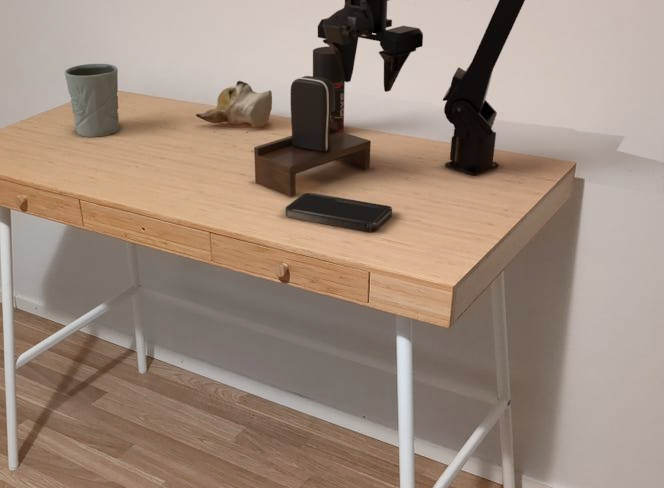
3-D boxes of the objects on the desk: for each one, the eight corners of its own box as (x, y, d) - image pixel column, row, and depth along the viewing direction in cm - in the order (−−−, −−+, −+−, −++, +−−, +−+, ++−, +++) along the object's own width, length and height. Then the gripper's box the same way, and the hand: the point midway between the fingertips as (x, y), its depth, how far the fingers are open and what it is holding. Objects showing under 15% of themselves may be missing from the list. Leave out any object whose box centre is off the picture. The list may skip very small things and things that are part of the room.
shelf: (369, 169, 153) (371, 133, 150) (290, 197, 144) (289, 160, 141) (333, 156, 159) (333, 122, 156) (255, 183, 151) (253, 147, 147)
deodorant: (342, 135, 169) (343, 54, 161) (310, 135, 170) (310, 54, 162) (345, 126, 174) (346, 46, 166) (314, 125, 175) (314, 46, 167)
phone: (374, 225, 130) (282, 209, 137) (373, 232, 131) (283, 215, 138) (394, 206, 136) (306, 191, 143) (394, 213, 136) (306, 198, 143)
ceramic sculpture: (256, 89, 167) (190, 86, 174) (259, 135, 171) (195, 130, 179) (283, 75, 174) (219, 73, 182) (286, 120, 179) (223, 116, 186)
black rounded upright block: (337, 147, 149) (338, 77, 143) (324, 154, 146) (325, 83, 140) (303, 140, 152) (302, 72, 146) (289, 146, 150) (288, 77, 144)
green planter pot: (63, 134, 179) (54, 73, 173) (94, 120, 186) (87, 60, 180) (103, 140, 174) (95, 77, 168) (134, 125, 181) (127, 65, 175)
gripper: (292, -11, 145) (294, 86, 153) (377, 2, 132) (374, 107, 140) (342, -21, 150) (341, 73, 159) (428, -10, 138) (422, 92, 146)
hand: (367, 86), depth 151 cm, fingers open, 9 cm apart
